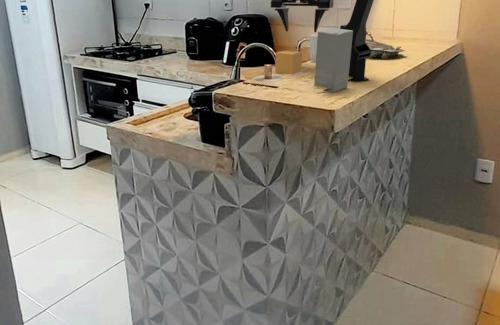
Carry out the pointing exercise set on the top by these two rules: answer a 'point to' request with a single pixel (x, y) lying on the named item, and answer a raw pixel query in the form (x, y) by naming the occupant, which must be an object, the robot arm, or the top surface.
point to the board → (274, 78)
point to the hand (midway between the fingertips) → (301, 31)
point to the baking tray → (382, 49)
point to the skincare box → (333, 59)
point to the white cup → (313, 47)
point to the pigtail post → (267, 71)
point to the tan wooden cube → (288, 62)
